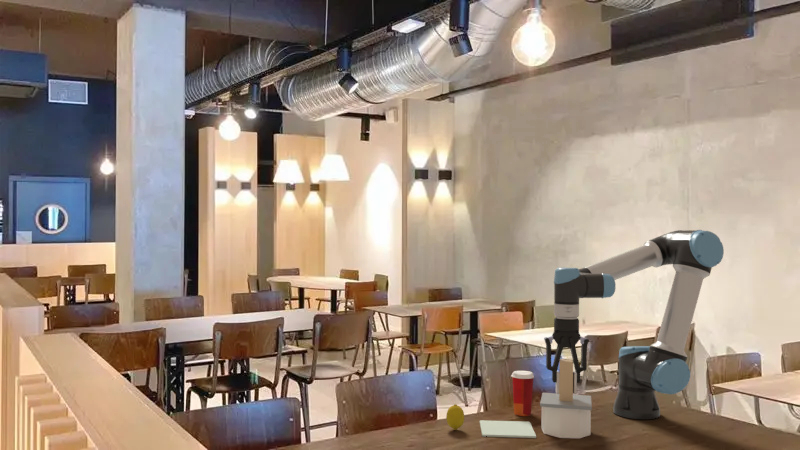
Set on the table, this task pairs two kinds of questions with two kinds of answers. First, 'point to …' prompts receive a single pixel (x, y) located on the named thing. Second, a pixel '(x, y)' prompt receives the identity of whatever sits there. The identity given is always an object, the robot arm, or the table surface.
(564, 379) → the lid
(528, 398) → the paper cup
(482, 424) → the mat
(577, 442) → the table surface
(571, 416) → the bowl
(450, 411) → the lemon
